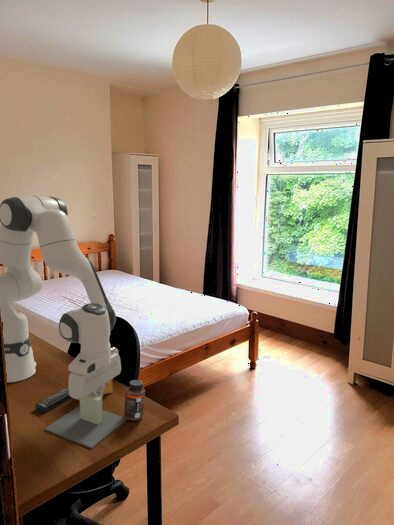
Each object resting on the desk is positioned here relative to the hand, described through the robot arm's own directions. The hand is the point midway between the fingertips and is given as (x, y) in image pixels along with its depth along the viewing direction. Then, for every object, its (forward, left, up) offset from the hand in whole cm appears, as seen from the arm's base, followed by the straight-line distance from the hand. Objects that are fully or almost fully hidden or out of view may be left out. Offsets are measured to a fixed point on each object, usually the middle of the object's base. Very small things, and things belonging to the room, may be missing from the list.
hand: (97, 398), depth 128 cm
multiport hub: (-18, 0, -7) cm, 19 cm away
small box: (-10, +12, -6) cm, 17 cm away
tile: (0, -3, -6) cm, 6 cm away
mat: (0, -5, -6) cm, 8 cm away
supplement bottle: (+10, +5, -6) cm, 13 cm away
